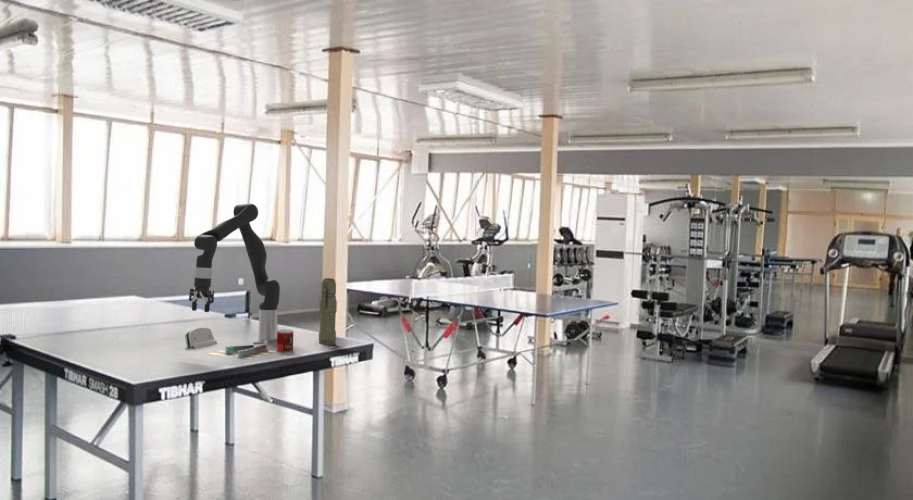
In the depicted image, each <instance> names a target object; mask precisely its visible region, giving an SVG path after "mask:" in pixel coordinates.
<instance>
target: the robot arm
mask: <svg viewBox="0 0 913 500" xmlns="http://www.w3.org/2000/svg"><path fill="white" fill-rule="evenodd" d="M232 213H233V216H232V217H230V218H228V219H226V220H223V221H222V222H220V223H218V224H217V225H216V226H214V227H213V228H211V229H210V230H209V229H208V230H207V231H204V232H202V233H200V234H198V235H197V236H196V237H195V239H194V242H193V244H194V246H195V248H196V249H197V250H200V251H203V253H202V254H200V255H197V256H196V262H195V263H196V264H195V271H194V281H193V288H189V295H188V301H189V302H191V311H197V310H198V307H197V306H198V301H199V300H200V299H201V300H202V301H203V302H204V313H209V312H210V309H211V308H210V307H211V304H214V301H215V290H212V289H211V290H210V288H211V285H212V276H213V273H212V272H213V271H212V270H213V269H212V266H213V259H214V256H215V253H216V252H217V251H216V250H217V248H218V242H221V241H222V240H224V239H225V238H227V237H228V236H229V235H231V234H232V233H234V232H235V231H237V230H238V229H239V231H240V234H241V238H242V240H243V243H244V246H245V250H246V253H247V256H248V259H249V262H250V266H251V269H252V272H253V273H252V274H253V276H254V277H253V279H254V282H255V287H256V290H257V292H258V294H259V295H261V296H263V297H264V299H263V301H262V302H261V303H259V307H258V308H259V309H258V341H261V342H264V340H268V342H269V341H270V342H271V341H272V342H273V341H277V331H278V330H279V329H278V326H279V325H278V324H279V323H278V306H279V303H280V296H281V295H280V293H281V292H280V291H281V290H280V289H281V288H280V287H281V285H280V283H279V282H278V281H277V280H276V279H270V278H269V276H268V273H267V270H266V269H267V268H266V264H267V251H266V247H265V245H264V241H263V240H262V239H261V238H260V237H259V235H258V234H257V233H256V232H255V231H254V230H253V228H252V226H251V223H252V222H253V221H255V220H256V219H257V218H258V216H259V209H258V207H257V206H256V205H255V204H254V203H239V204H236V205H235V206H234V208H233V212H232ZM194 287H195V288H194Z"/></svg>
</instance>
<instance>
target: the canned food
mask: <svg viewBox="0 0 913 500" xmlns="http://www.w3.org/2000/svg"><path fill="white" fill-rule="evenodd" d="M293 351H294V330H293V329H278V330H277V339H276V352H280V353H290V352H293Z"/></svg>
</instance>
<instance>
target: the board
mask: <svg viewBox="0 0 913 500" xmlns="http://www.w3.org/2000/svg"><path fill="white" fill-rule="evenodd" d="M225 349H226V348H224V349H220V350H216V351H213V352H209V353H207V355H211V356H212V355H214V356H220V357H230V358H231V357H232V358H239V359H247V360H251V359H254V358H258V357H261V356H265V355H268V354H272V353H275V352H277V350H269V349H268V351H265V352H261V353H258V354H254V355H251V356H247V357H243V358H241V357H238V353H231V354H226V353H225Z"/></svg>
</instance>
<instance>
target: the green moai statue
mask: <svg viewBox="0 0 913 500" xmlns="http://www.w3.org/2000/svg"><path fill="white" fill-rule="evenodd" d="M320 286H321V289H320V293H321V296H320V300H319V314H320V316H319V317H320V318H319V319H320V322H319V330H318V343H319V344H322V345H330V347H333V346H336V342H337V341H336V340H337V331H336V313H337V309H338V305H337V304H338V301H337V297H336V295H337V282H336V280H335V279H334V278H333V277H332V278H331V277H328V278H327V277H326V278H323V279H322V281H321V285H320Z"/></svg>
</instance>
